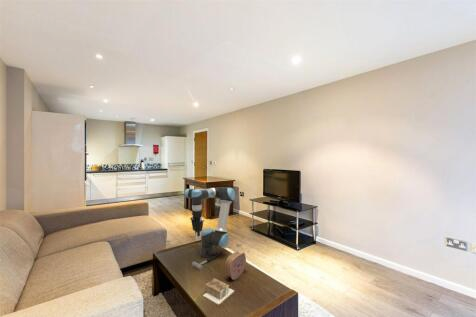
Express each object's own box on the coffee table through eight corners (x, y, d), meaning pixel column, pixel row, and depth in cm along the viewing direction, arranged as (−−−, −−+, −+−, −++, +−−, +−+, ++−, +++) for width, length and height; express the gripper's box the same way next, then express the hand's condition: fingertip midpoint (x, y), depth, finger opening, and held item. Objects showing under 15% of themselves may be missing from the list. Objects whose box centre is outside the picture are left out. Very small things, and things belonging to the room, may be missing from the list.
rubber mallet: (224, 253, 192) (199, 266, 169) (224, 257, 192) (199, 270, 169) (217, 250, 198) (191, 262, 175) (217, 254, 198) (191, 266, 175)
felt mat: (219, 284, 150) (219, 283, 150) (234, 291, 142) (234, 290, 142) (203, 296, 138) (203, 295, 138) (218, 305, 129) (218, 304, 129)
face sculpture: (231, 283, 151) (231, 260, 151) (224, 280, 155) (224, 258, 155) (246, 271, 167) (246, 250, 167) (239, 268, 171) (239, 248, 171)
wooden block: (214, 278, 148) (228, 285, 140) (214, 285, 148) (228, 292, 140) (205, 284, 141) (220, 292, 133) (205, 291, 141) (220, 299, 133)
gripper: (187, 209, 160) (188, 239, 161) (199, 212, 152) (200, 243, 153) (194, 207, 166) (195, 236, 167) (206, 209, 159) (207, 240, 159)
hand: (197, 239), depth 160 cm, fingers closed
